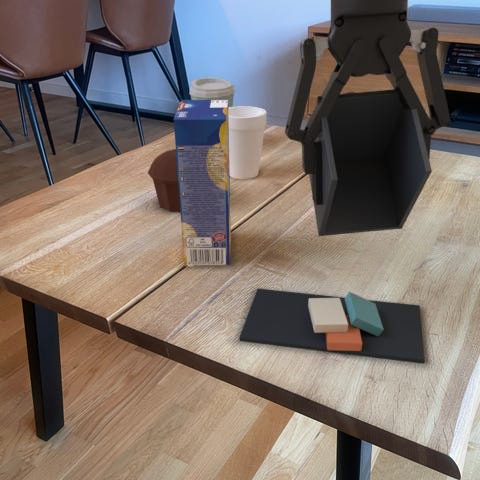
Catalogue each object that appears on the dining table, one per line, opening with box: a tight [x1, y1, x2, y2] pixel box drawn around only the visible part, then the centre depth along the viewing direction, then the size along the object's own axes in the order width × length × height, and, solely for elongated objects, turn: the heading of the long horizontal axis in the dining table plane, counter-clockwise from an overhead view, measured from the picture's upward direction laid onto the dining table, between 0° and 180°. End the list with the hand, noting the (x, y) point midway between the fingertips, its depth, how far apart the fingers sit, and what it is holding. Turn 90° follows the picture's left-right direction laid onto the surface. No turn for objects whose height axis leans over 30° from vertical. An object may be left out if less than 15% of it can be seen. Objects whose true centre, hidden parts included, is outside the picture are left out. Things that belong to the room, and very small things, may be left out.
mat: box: [238, 288, 426, 364], centre depth 71 cm, size 22×12×1 cm, turn 78°
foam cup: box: [228, 105, 268, 180], centre depth 115 cm, size 10×9×13 cm
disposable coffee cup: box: [189, 76, 236, 108], centre depth 131 cm, size 11×11×15 cm
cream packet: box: [308, 298, 348, 333], centre depth 69 cm, size 6×4×1 cm, turn 1°
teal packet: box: [344, 291, 384, 337], centre depth 70 cm, size 6×4×1 cm, turn 178°
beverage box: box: [173, 99, 232, 268], centre depth 83 cm, size 7×11×22 cm, turn 0°
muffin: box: [147, 148, 181, 213], centre depth 102 cm, size 12×11×10 cm
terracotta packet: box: [325, 315, 362, 351], centre depth 68 cm, size 6×4×1 cm, turn 177°
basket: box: [308, 88, 433, 237], centre depth 63 cm, size 11×10×12 cm
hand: (364, 197), depth 64 cm, fingers closed on basket, 10 cm apart
